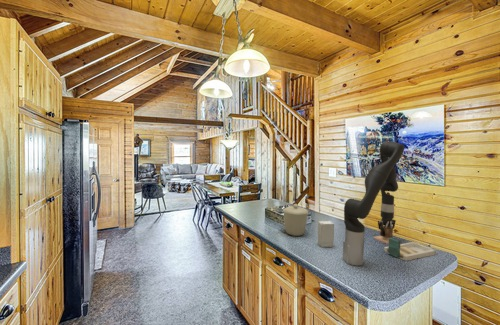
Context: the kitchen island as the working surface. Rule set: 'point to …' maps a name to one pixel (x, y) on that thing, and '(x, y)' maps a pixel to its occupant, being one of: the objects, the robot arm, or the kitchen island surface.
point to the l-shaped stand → (398, 248)
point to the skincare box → (326, 233)
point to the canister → (295, 220)
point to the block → (387, 232)
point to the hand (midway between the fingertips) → (386, 235)
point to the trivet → (382, 239)
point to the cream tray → (421, 250)
